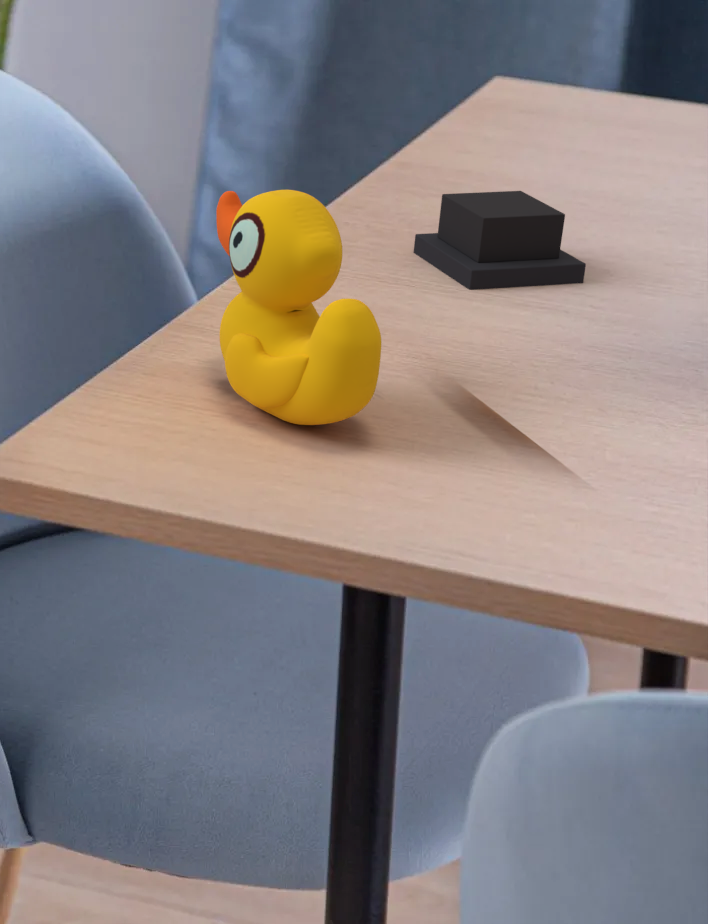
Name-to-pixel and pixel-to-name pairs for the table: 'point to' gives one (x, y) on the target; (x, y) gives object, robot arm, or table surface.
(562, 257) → the base pad
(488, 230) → the top pad
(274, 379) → the duckling
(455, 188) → the table surface
